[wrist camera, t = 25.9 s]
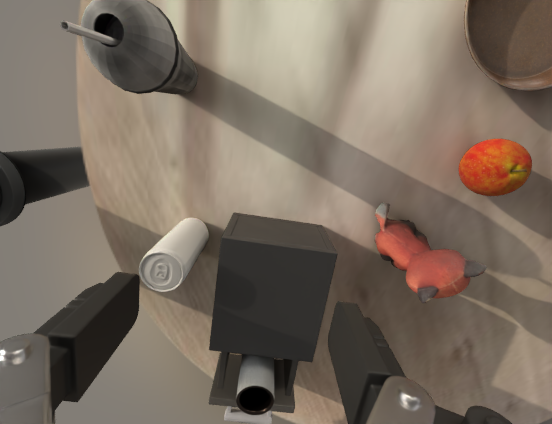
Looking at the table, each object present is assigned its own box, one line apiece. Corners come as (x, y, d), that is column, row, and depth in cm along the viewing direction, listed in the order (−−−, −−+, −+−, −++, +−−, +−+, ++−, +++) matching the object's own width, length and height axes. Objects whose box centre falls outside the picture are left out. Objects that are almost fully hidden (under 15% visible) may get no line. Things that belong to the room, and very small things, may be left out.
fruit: (458, 199, 39) (504, 215, 32) (439, 156, 38) (482, 162, 30) (506, 172, 38) (565, 182, 31) (488, 127, 37) (545, 126, 29)
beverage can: (173, 243, 41) (134, 287, 29) (179, 212, 39) (140, 245, 28) (206, 251, 41) (180, 298, 29) (213, 221, 40) (188, 257, 28)
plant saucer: (419, 23, 33) (433, 12, 30) (544, -122, 30) (574, -150, 27) (509, 123, 37) (530, 122, 34) (631, 3, 33) (666, -9, 30)
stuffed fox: (394, 186, 39) (446, 208, 27) (437, 242, 41) (502, 286, 29) (350, 220, 40) (382, 256, 28) (394, 273, 42) (440, 326, 31)
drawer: (284, 394, 47) (286, 444, 40) (215, 386, 47) (205, 435, 39) (305, 294, 42) (312, 330, 34) (228, 284, 41) (218, 318, 34)
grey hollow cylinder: (245, 325, 42) (236, 385, 32) (275, 327, 42) (275, 387, 32) (243, 350, 43) (235, 415, 33) (272, 352, 43) (272, 417, 33)
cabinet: (303, 313, 44) (312, 362, 35) (222, 302, 43) (208, 350, 34) (322, 225, 40) (337, 253, 31) (233, 212, 39) (221, 237, 30)
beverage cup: (209, 44, 34) (123, -76, 14) (208, 108, 36) (133, 78, 16) (147, 38, 33) (-23, -90, 14) (151, 103, 35) (5, 68, 16)
